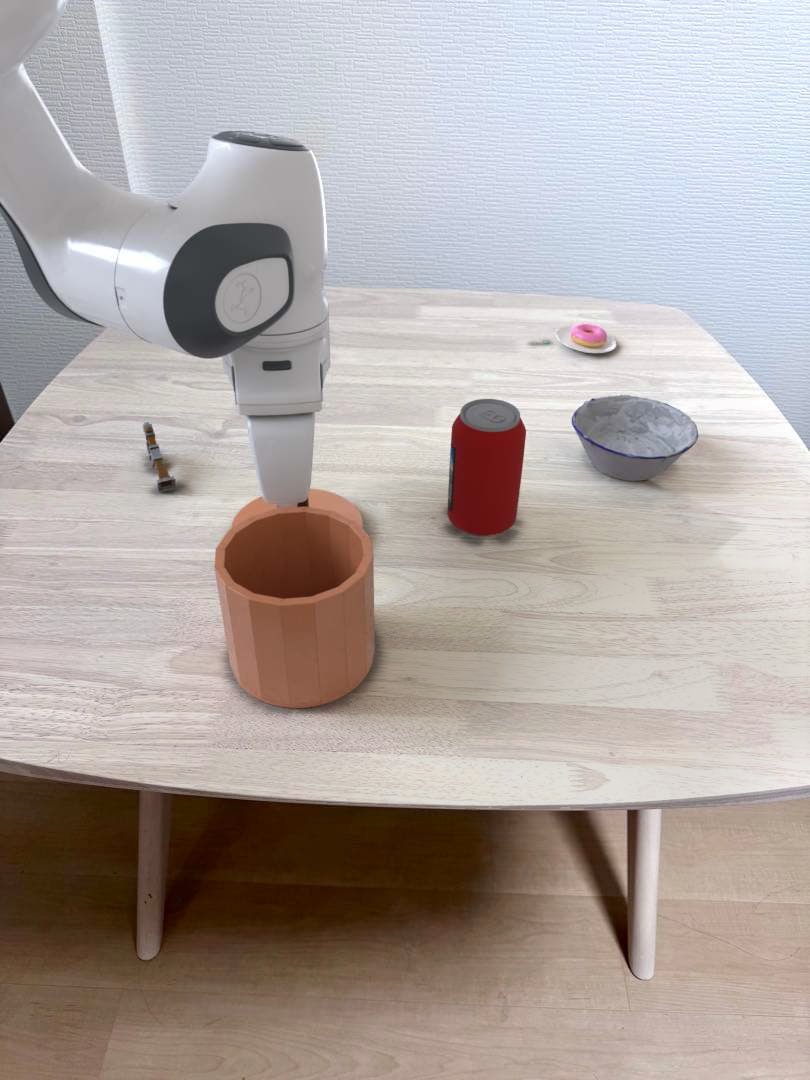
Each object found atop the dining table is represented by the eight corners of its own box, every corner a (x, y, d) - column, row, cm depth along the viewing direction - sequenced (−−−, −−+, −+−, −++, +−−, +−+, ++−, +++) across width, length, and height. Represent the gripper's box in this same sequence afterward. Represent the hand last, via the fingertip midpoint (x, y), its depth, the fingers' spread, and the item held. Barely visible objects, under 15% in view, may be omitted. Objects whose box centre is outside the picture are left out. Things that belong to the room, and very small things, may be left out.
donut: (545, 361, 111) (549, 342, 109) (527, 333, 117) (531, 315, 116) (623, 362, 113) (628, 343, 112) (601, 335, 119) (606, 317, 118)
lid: (230, 581, 75) (224, 539, 72) (234, 501, 85) (228, 462, 82) (369, 571, 77) (368, 529, 74) (357, 493, 86) (356, 454, 83)
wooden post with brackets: (156, 441, 92) (153, 415, 88) (177, 501, 89) (175, 477, 85) (139, 445, 91) (136, 419, 88) (159, 505, 88) (157, 481, 84)
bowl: (549, 472, 90) (555, 433, 87) (589, 420, 99) (595, 383, 96) (670, 508, 85) (681, 467, 82) (701, 449, 94) (711, 411, 91)
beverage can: (478, 493, 87) (486, 387, 79) (530, 521, 83) (543, 413, 75) (432, 520, 83) (436, 411, 75) (484, 551, 79) (494, 440, 72)
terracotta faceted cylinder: (229, 715, 63) (211, 611, 57) (233, 612, 72) (217, 512, 66) (381, 700, 64) (380, 597, 58) (366, 601, 73) (364, 502, 67)
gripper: (238, 299, 77) (250, 431, 85) (235, 407, 61) (251, 557, 69) (307, 297, 78) (313, 428, 86) (323, 403, 62) (328, 552, 70)
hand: (285, 487), depth 78 cm, fingers open, 8 cm apart
